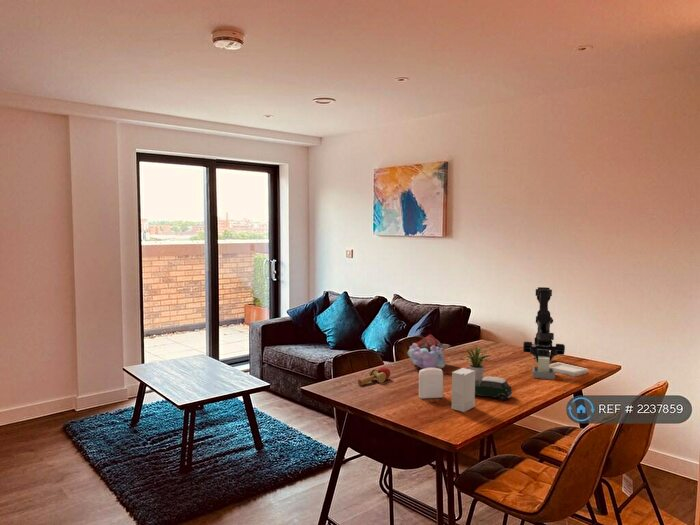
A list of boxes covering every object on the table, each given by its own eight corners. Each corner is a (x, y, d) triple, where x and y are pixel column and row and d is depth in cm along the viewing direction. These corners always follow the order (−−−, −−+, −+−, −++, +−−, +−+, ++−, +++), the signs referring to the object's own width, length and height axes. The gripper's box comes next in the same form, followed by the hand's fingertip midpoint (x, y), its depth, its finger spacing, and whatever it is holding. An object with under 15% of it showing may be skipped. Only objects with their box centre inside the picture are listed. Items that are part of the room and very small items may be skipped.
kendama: (367, 390, 224) (395, 377, 235) (364, 376, 224) (392, 364, 235) (356, 389, 230) (384, 377, 241) (353, 376, 230) (381, 364, 241)
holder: (532, 372, 249) (532, 366, 249) (553, 374, 246) (553, 368, 246) (532, 377, 240) (532, 371, 240) (554, 379, 237) (554, 373, 236)
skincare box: (461, 404, 202) (462, 367, 201) (475, 407, 198) (476, 370, 197) (450, 409, 196) (451, 371, 195) (464, 412, 192) (464, 374, 191)
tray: (544, 369, 255) (544, 365, 255) (558, 366, 262) (558, 362, 261) (573, 376, 242) (574, 372, 241) (587, 372, 248) (588, 368, 248)
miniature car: (470, 390, 221) (470, 372, 220) (513, 396, 213) (513, 377, 212) (465, 396, 213) (465, 377, 212) (509, 402, 205) (510, 383, 204)
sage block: (537, 374, 246) (538, 355, 245) (548, 375, 244) (549, 356, 244) (537, 376, 241) (538, 358, 241) (549, 377, 240) (549, 359, 239)
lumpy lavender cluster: (407, 363, 247) (426, 332, 247) (397, 351, 268) (415, 323, 268) (441, 383, 250) (460, 352, 250) (429, 370, 272) (446, 341, 271)
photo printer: (419, 399, 208) (420, 369, 207) (417, 396, 212) (417, 366, 212) (444, 398, 209) (444, 369, 208) (441, 395, 213) (441, 366, 213)
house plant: (473, 385, 227) (474, 349, 226) (453, 378, 239) (454, 343, 238) (497, 381, 233) (498, 346, 232) (476, 374, 246) (477, 340, 245)
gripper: (523, 325, 248) (523, 352, 239) (565, 327, 242) (566, 355, 232) (523, 338, 256) (523, 364, 246) (563, 340, 250) (564, 368, 240)
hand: (543, 363), depth 241 cm, fingers closed on sage block, 5 cm apart
